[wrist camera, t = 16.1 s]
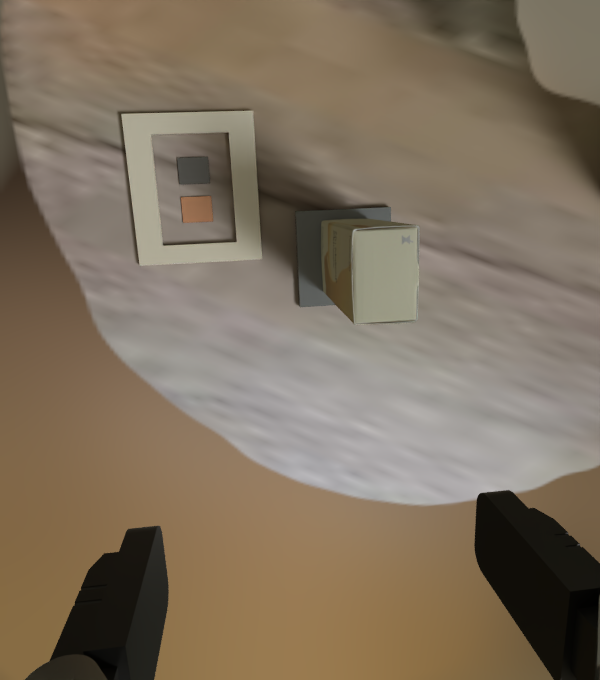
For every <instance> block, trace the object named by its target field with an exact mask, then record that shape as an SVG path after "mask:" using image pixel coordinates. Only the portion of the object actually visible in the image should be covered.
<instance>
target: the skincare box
mask: <svg viewBox="0 0 600 680" xmlns="http://www.w3.org/2000/svg"><path fill="white" fill-rule="evenodd" d="M419 230H420V229H419V226H418V225H411V224H404V223H397V222H390V221H383V220H375V219H337V220H325V221H322V222H321V264H322V280H323V292H324V293H325V294H326V295H327V296H328V297H329V298H330V299H331V300H332V301H333V303H334V304H335V305H336V306H337V307H338V308H339V309H340V310H341V311H342V312H343V313H344V314H345V315H346V316H347V317H348V318H349V319H350V320H351V321H352V322H353V323H354V324H355V325H377V324H400V323H414V322H416V321H417V319H418V287H419Z"/></svg>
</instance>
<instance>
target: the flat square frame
mask: <svg viewBox="0 0 600 680" xmlns="http://www.w3.org/2000/svg"><path fill="white" fill-rule="evenodd" d="M121 116H122V124H123V132H124V141H125V149H126V157H127V165H128V174H129V182H130V190H131V198H132V206H133V215H134V223H135V231H136V239H137V248H138V256H139V264H140V266H146V265H164V264H183V263H201V262H220V261H239V260H257V259H262V249H261V232H260V216H259V200H258V184H257V167H256V151H255V135H254V118H253V111H219V112H178V113H137V114H121ZM204 133H229V143H230V156H231V170H232V184H233V197H234V211H235V225H236V238H237V242H226V243H206V244H186V245H166V246H163V238H162V228H161V219H160V210H159V201H158V192H157V182H156V173H155V164H154V155H153V146H152V137H151V135H169V134H204ZM177 162H178V173H179V183H180V184H202V183H210V177H209V165H208V157H189V158H177ZM181 203H182V213H183V223H189V222H211V221H213V213H212V201H211V196H200V197H181Z"/></svg>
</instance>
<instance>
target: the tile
mask: <svg viewBox="0 0 600 680" xmlns="http://www.w3.org/2000/svg"><path fill="white" fill-rule="evenodd" d="M295 217H296V240H297V262H298V285H299V306H300V307H311V306H327V305H335V304H334V303H333V301H332V300H331V299H330V298H329V297H328V296H327V295H326V294H325V293H324V292H323V280H322V264H321V222H322V221H325V220H337V219H375V220H383V221H390V222H391V207H383V208H361V209H339V210H316V211H295Z"/></svg>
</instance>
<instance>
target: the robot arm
mask: <svg viewBox="0 0 600 680" xmlns="http://www.w3.org/2000/svg"><path fill="white" fill-rule="evenodd" d="M475 554H476V558H477V562H478V565H479V567H480V570H481V571H482V573H483V575H484V576H485V578H486V579H487V581H488V582H489V584H490V585H491V587H492V588H493V590H494V591H495V592H496V594H497V596H498V597H499V599H500V600H501V602H502V603H503V604H504V606H505V607H506V609H507V610H508V612H509V613H510V615H511V616H512V618H513V619H514V621H515V622H516V624H517V625H518V627H519V628H520V630H521V631H522V633H523V634H524V636H525V637H526V639H527V640H528V641H529V643H530V644H531V646H532V648H533V649H534V651H535V652H536V653H537V655H538V657H539V658H540V660H541V661H542V662H543V664H544V665H545V667H546V668H547V670H548V671H549V673H550V674H551V676H552V677H553V679H554V680H600V563H599V562H598V561H597V560H595V558H594V557H592V556H591V555H590V554H589V553H588V552H587V551H586V550H585V549H584V548H583V547H580V544H579V543H578V542H577V541H576V540H575V539H574V538H573V537H572V536H569V535H568V532H567V531H566V530H565V529H564V528H563V527H562V526H561V525H560V524H559V523H558V522H556V521H555V520H554V519H553V518H551V517H549V516H547V515H546V514H544V513H542V512H540V511H538V510H537V509H535V508H530V509H528V508H527V507H526V506H525V504H524V503H522V501H521V500H520V499H519V498H518V497H517V496H516V495H515V494H514V493H513V492H511V491H509V490H506V491H496V492H487V493H480V494H479V495H478V498H477V506H476V526H475ZM167 607H168V577H167V569H166V561H165V554H164V545H163V537H162V531H161V528H160V526H152V527H142V528H133V529H128V530H127V531H126V534H125V537H124V540H123V542H122V545H121V548H120V551H119V552H114V553H105V554H104V555H102V557H101V558H100V559H99V560H98V561H97V562H96V563H95V564H94V565H93V566H92V567H91V568H90V569H89V571H88V573H87V575H86V577H85V580H84V582H83V584H82V587H81V591H79V594H78V596H77V598H76V601H75V606H73V608H72V610H71V612H70V615H69V617H68V619H67V622H66V624H65V626H64V629H63V631H62V634H61V636H60V638H59V640H58V643H57V645H56V647H55V650H54V652H53V655H52V657H51V659H50V661H49V662H47V663H45V664H43V665H42V666H40V667H39V668H37V669H36V670H35V671H33V672H32V673H31V674H30V675H29V676H28V677H27V678H26V679H25V680H154V677H155V672H156V667H157V661H158V656H159V651H160V645H161V640H162V635H163V629H164V624H165V618H166V613H167Z"/></svg>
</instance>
